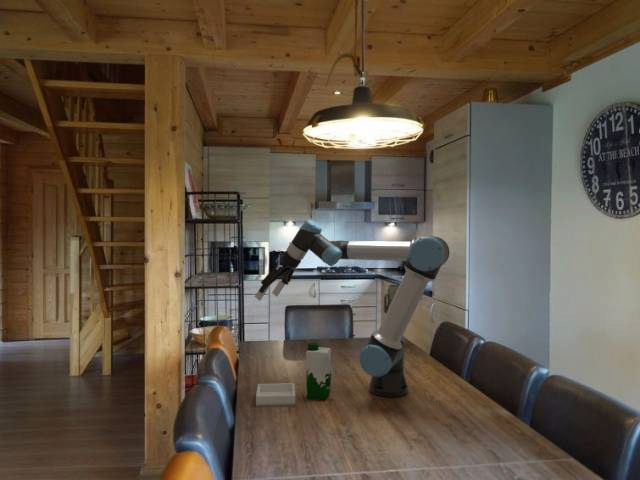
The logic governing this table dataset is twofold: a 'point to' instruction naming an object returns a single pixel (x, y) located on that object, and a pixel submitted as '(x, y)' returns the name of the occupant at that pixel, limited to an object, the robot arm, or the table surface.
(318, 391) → the soya milk
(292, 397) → the square holder
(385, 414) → the table surface
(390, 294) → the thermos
